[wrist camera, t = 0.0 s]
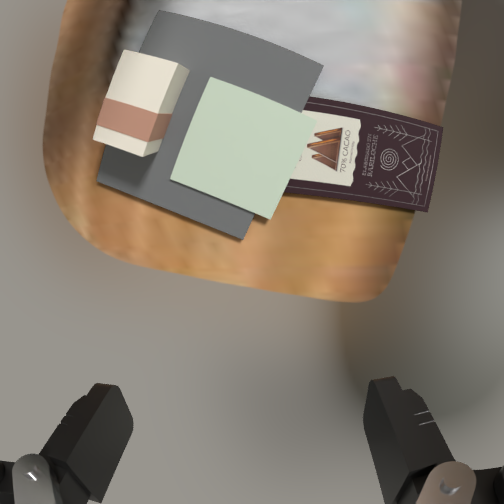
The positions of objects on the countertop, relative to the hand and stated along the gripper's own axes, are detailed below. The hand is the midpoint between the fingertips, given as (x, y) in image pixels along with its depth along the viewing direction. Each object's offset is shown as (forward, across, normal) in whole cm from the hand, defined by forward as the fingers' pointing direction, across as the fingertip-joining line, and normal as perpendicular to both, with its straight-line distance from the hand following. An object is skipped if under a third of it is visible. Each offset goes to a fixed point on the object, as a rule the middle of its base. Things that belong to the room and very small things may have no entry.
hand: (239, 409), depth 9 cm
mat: (+21, +4, -12) cm, 24 cm away
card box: (+20, +9, -14) cm, 26 cm away
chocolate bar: (+22, -10, -8) cm, 25 cm away
